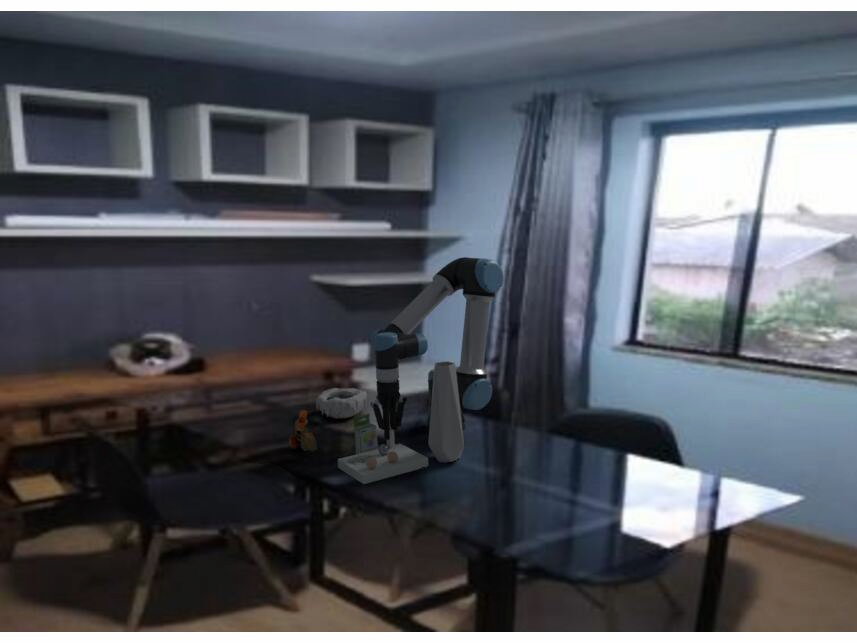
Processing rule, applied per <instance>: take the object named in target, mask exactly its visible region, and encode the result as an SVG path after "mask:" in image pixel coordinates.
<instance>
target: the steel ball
mask: <svg viewBox="0 0 857 643" xmlns="http://www.w3.org/2000/svg"><path fill="white" fill-rule="evenodd" d="M378 451H379V453H380V454H382V455H386V454H387V453H388V452H389V447H388V446H387V444H380V445H378Z"/></svg>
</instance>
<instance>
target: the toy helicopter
mask: <svg viewBox="0 0 857 643" xmlns="http://www.w3.org/2000/svg"><path fill="white" fill-rule="evenodd" d="M308 414H309V413H308V410H303V409H302V410H300V411H299V415H298V418H297V419H296V420H295V421H294V430H295V435H291V436H289V437H288V445H289V444H290V445H291V447H292V448H296V449H297V448H298V445H299V446H300V448H301V449H302V451H303V450H304V451H305V450H310V451H311V452H315V451H317V450H318V443H317V439H316V438H315V436H314V435H313V433H312V432H311V431H310V432H308V428H307V426H306V425H308V419H307V418H308ZM290 445H289V446H290ZM304 451H303V452H304ZM310 451H309V452H310Z"/></svg>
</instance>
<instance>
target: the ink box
mask: <svg viewBox="0 0 857 643" xmlns="http://www.w3.org/2000/svg"><path fill="white" fill-rule="evenodd" d="M361 419H364V420H361ZM359 420H361V421H359ZM353 426H354V427H353V429H354V430H353V431H354V446H355V447H354V448H355V455H356V454H360V453H364V452H368V451H372V450H376V449H379V443H378V432H377V425H376V424H374V423H371V422H370V413H365V414H362V415H360V416H356V417H353Z"/></svg>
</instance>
